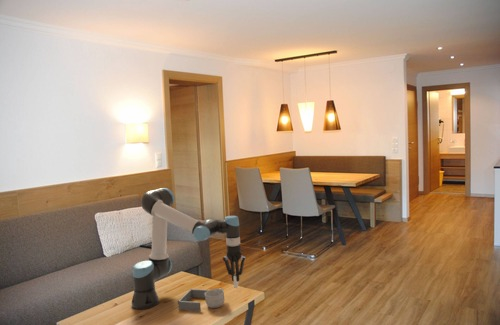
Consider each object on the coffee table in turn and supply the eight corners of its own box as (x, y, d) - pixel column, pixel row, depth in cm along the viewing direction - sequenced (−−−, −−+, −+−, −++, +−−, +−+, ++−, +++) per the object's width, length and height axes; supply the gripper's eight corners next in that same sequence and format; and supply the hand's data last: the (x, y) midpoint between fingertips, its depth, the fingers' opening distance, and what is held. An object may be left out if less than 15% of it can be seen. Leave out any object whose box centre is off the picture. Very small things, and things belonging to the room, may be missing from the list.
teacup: (215, 311, 218) (214, 297, 217) (201, 307, 224) (200, 293, 224) (232, 302, 229) (231, 288, 228) (217, 298, 235) (217, 285, 235)
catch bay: (178, 309, 223) (177, 301, 223) (191, 296, 240) (190, 289, 240) (200, 310, 220) (199, 302, 219) (211, 297, 237) (211, 290, 236)
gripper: (219, 246, 219) (222, 289, 221) (243, 246, 216) (245, 290, 217) (224, 242, 226) (227, 283, 228) (246, 242, 223) (249, 284, 224)
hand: (236, 286), depth 222 cm, fingers closed
